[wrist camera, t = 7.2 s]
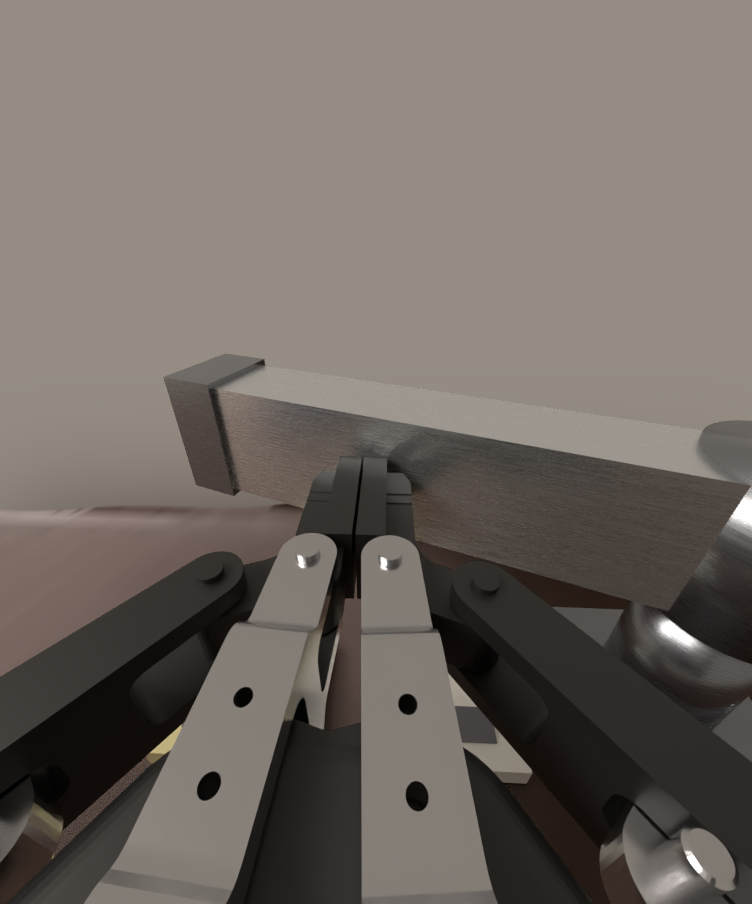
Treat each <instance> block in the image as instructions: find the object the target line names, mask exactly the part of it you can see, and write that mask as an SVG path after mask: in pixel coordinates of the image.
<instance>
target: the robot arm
mask: <svg viewBox="0 0 752 904" xmlns="http://www.w3.org/2000/svg"><path fill="white" fill-rule="evenodd" d="M356 573H357V598H359V599H361V723H358V724H354V725H350V726H346V727H342V728H338V729H334V730H324V721H325V707H326V699H327V694H328V689H329V684H330V679H331V674H332V670H333V665H334V660H335V655H336V650H337V645H338V640H339V636H340V631H341V625H342V621H341V618H342V616H343V610H344V602H345V598H354V592H355V582H356ZM195 634H196V635H195ZM191 637H192V638H191ZM187 640H188V641H187ZM183 643H184V644H183ZM179 646H180V647H179ZM175 649H176V650H175ZM172 651H173V652H172ZM171 652H172V653H171ZM168 654H169V655H168ZM164 657H165V658H164ZM160 660H161V661H160ZM156 663H157V664H156ZM152 666H153V667H152ZM148 669H149V670H148ZM144 672H145V673H144ZM448 673H449V675H450V676H451V677H452V678H453V679H454V680H455V682H456V683H457V684H458V685H459V686H460V687H461V689H462V690H463V691H464V692H465V693H466V694H467V695H468V697H469V698H470V699H471V700H472V701H473V702H474V704H475V705H476V706H477V707H478V708H479V709H480V711H481V712H482V713H483V714H484V715H485V716H486V717H487V719H488V720H489V721H490V722H491V723H492V724H493V726H494V727H495V728H496V729H497V730H498V731H499V733H500V734H501V735H502V736H503V737H504V738H505V739H506V741H507V742H508V743H509V744H510V745H511V746H512V748H513V749H514V750H515V751H516V752H517V753H518V755H519V756H520V757H521V758H522V759H523V760H524V761H525V763H526V764H527V765H528V766H529V767H530V768H531V770H532V771H533V772H534V773H535V774H536V775H537V777H538V778H539V779H540V780H541V781H542V782H543V783H544V785H545V786H546V787H547V788H548V789H549V790H550V792H551V793H552V794H553V795H554V796H555V797H556V799H557V800H558V801H559V802H560V803H561V804H562V806H563V807H564V808H565V809H566V810H567V811H568V812H569V814H570V815H571V816H572V817H573V818H574V819H575V821H576V822H577V823H578V824H579V825H580V826H581V828H582V829H583V830H584V831H585V832H586V833H587V834H588V836H589V837H590V838H591V839H592V840H593V841H594V843H595V844H596V845H597V846H598V847H599V848H600V872H601V877H602V881H603V885H604V888H605V891H606V894H607V897H608V899H609V901H610V903H611V904H752V762H751V761H750V760H749V759H747V758H746V757H745V756H743V755H742V754H741V753H740V752H738V751H737V750H736V749H734V748H733V747H732V746H730V745H729V744H728V743H727V742H725V741H724V740H723V739H721V738H720V737H719V736H718V735H716V734H715V733H714V732H712V731H711V730H710V729H709V728H707V727H706V726H705V725H703V724H702V723H701V722H700V721H698V720H697V719H696V718H694V717H693V716H692V715H691V714H689V713H688V712H687V711H685V710H684V709H683V708H681V707H680V706H679V705H678V704H676V703H675V702H674V701H672V700H671V699H670V698H669V697H667V696H666V695H665V694H663V693H662V692H661V691H660V690H658V689H657V688H656V687H654V686H653V685H652V684H651V683H649V682H648V681H647V680H645V679H644V678H643V677H642V676H640V675H639V674H638V673H636V672H635V671H634V670H632V669H631V668H630V667H629V666H627V665H626V664H625V663H623V662H622V661H621V660H620V659H618V658H617V657H616V656H614V655H613V654H612V653H611V652H609V651H608V650H607V649H605V648H604V647H603V646H602V645H600V644H599V643H598V642H596V641H595V640H594V639H593V638H591V637H590V636H589V635H587V634H586V633H585V632H583V631H582V630H581V629H580V628H578V627H577V626H576V625H574V624H573V623H572V622H571V621H569V620H568V619H567V618H565V617H564V616H563V615H562V614H560V613H559V612H558V611H556V610H555V609H554V608H553V607H551V606H550V605H549V604H547V603H546V602H545V601H544V600H542V599H541V598H540V597H538V596H537V595H536V594H534V593H533V592H532V591H531V590H529V589H528V588H527V587H525V586H524V585H523V584H522V583H520V582H519V581H518V580H516V579H515V578H514V577H513V576H511V575H510V574H509V573H507V572H506V571H505V570H503V569H502V568H500V567H499V566H497V565H495V564H492V563H489V562H485V561H469V562H466V563H464V564H462V565H460V566H459V567H458V568H457V569H456V570H453V569H450V568H446V567H443V566H440V565H437V564H435V563H433V562H431V561H430V560H428V559H427V558H425V557H424V556H423V555H422V554H421V553H420V551H419V550H418V548H417V546H416V542H415V530H414V518H413V506H412V492H411V482H410V481H409V480H408V478H407V477H406V476H405V474H404V473H387V457H365V458H364V467H363V458H362V456H339V460H338V464H337V468H336V471H322V472H321V473H320V474H319V475H318V476H317V477H316V478H315V479H314V480H313V482H312V485H311V488H310V493H309V494H308V498H307V503H306V504H305V507H304V510H303V514H302V517H301V520H300V523H299V526H298V529H297V533H296V536H295V537H293V538H292V539H290V540H289V541H287V542H286V543H285V544H284V545H283V546H282V548H281V550H280V551H279V554H278V555H277V556H275V557H273V558H270V559H267V560H263V561H259V562H254V563H250V564H245V565H243V563H242V561H241V559H240V558H239V557H238V556H237V555H235V554H233V553H230V552H213V553H209V554H206V555H203V556H201V557H199V558H197V559H195V560H194V561H192V562H190V563H189V564H187V565H185V566H184V567H182V568H180V569H179V570H177V571H175V572H174V573H172V574H170V575H169V576H167V577H165V578H164V579H162V580H160V581H159V582H157V583H155V584H154V585H152V586H150V587H149V588H147V589H145V590H144V591H142V592H140V593H139V594H137V595H135V596H134V597H132V598H130V599H129V600H127V601H125V602H124V603H122V604H120V605H119V606H117V607H116V608H114V609H112V610H111V611H109V612H107V613H106V614H104V615H102V616H101V617H99V618H97V619H96V620H94V621H92V622H91V623H89V624H87V625H86V626H84V627H82V628H81V629H79V630H77V631H76V632H74V633H72V634H71V635H69V636H67V637H66V638H64V639H62V640H61V641H59V642H57V643H56V644H54V645H52V646H51V647H49V648H47V649H46V650H44V651H42V652H41V653H39V654H38V655H36V656H34V657H33V658H31V659H29V660H28V661H26V662H24V663H23V664H21V665H19V666H18V667H16V668H14V669H13V670H11V671H9V672H8V673H6V674H4V675H3V676H1V677H0V904H594V903H593V902H592V900H591V899H590V898H589V896H588V895H587V894H586V892H585V891H584V890H583V888H582V887H581V886H580V884H579V883H578V882H577V880H576V879H575V878H574V876H573V875H572V874H571V872H570V871H569V870H568V868H567V867H566V866H565V864H564V863H563V862H562V860H561V859H560V858H559V856H558V855H557V854H556V852H555V851H554V850H553V848H552V847H551V846H550V844H549V843H548V842H547V840H546V839H545V838H544V836H543V835H542V834H541V832H540V831H539V830H538V828H537V827H536V826H535V824H534V823H533V822H532V820H531V819H530V818H529V816H528V815H527V814H526V812H525V811H524V810H523V808H522V807H521V806H520V804H519V803H518V802H517V800H516V799H515V798H514V796H513V795H512V794H511V792H510V791H509V790H508V788H507V787H506V786H505V785H504V783H503V782H502V781H501V780H500V779H499V777H498V776H497V775H496V774H495V773H494V772H493V771H492V770H491V769H490V768H489V767H488V766H487V765H486V764H485V763H484V762H482V761H481V760H480V759H479V758H478V757H477V756H476V755H474V754H473V753H471V752H470V751H468V750H467V749H465V748H464V747H463V745H462V740H461V735H460V730H459V725H458V720H457V715H456V710H455V705H454V700H453V695H452V690H451V685H450V680H449V675H448ZM184 722H185V723H184ZM183 723H184V725H183V727H182V729H181V731H180V733H179V735H178V737H177V739H176V741H175V743H174V745H173V747H172V749H171V750H170V751H168V752H167V753H166V754H164V755H163V756H162V757H161V758H159V759H158V760H157V761H156V762H154V763H153V764H152V765H151V766H150V767H149V768H148V769H146V770H145V771H144V772H143V773H142V774H141V775H140V776H139V777H138V778H137V779H136V780H135V781H134V782H133V783H132V784H131V785H129V786H128V787H127V788H126V789H125V790H124V791H123V792H122V793H121V794H120V795H119V796H118V797H117V798H116V799H115V800H114V801H113V802H112V803H111V804H109V805H108V806H107V807H106V808H105V809H104V810H103V811H102V812H101V813H100V814H99V815H98V816H97V817H96V818H95V819H94V820H93V821H92V822H91V823H89V824H88V825H87V826H86V827H85V828H84V829H83V830H82V831H81V832H80V833H79V834H78V835H77V836H76V837H75V838H74V839H73V840H72V841H71V842H69V843H68V844H67V845H66V846H65V847H64V848H63V849H62V850H61V851H60V852H59V853H58V854H57V855H56V856H55V857H54V852H55V850H56V848H57V845H58V843H59V840H60V837H61V834H62V830H63V829H64V828H66V827H67V826H68V825H69V824H70V823H71V822H72V821H73V820H75V819H76V818H77V817H78V816H79V815H80V814H81V813H83V812H84V811H85V810H86V809H87V808H88V807H89V806H90V805H92V804H93V803H94V802H95V801H96V800H97V799H98V798H99V797H101V796H102V795H103V794H104V793H105V792H106V791H107V790H108V789H110V788H111V787H112V786H113V785H114V784H115V783H116V782H117V781H119V780H120V779H121V778H122V777H123V776H124V775H125V774H126V773H128V772H129V771H130V770H131V769H132V768H133V767H134V766H136V765H137V764H138V763H139V762H140V761H141V760H142V759H143V758H145V757H146V756H147V755H148V754H149V753H150V752H151V751H152V750H154V749H155V748H156V747H157V746H158V745H159V744H160V743H161V742H163V741H164V740H165V739H166V738H167V737H168V736H169V735H170V734H172V733H173V732H174V731H175V730H176V729H177V728H178V727H179V726H181V725H182V724H183Z"/></svg>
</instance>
